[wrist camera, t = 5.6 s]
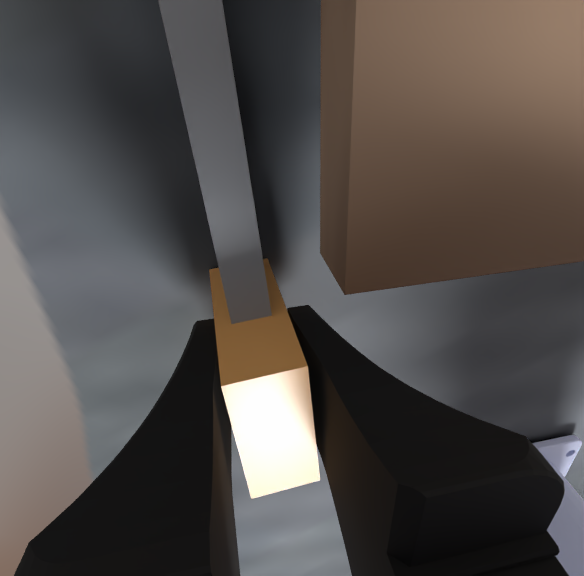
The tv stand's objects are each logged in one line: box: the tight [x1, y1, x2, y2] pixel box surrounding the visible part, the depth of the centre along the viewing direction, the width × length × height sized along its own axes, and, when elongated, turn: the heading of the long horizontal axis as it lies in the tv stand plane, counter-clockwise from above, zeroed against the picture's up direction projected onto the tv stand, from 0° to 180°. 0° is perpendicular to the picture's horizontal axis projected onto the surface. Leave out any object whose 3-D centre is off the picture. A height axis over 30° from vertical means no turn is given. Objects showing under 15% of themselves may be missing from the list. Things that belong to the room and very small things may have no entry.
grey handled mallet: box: [158, 0, 320, 499], centre depth 9 cm, size 14×2×5 cm, turn 6°
